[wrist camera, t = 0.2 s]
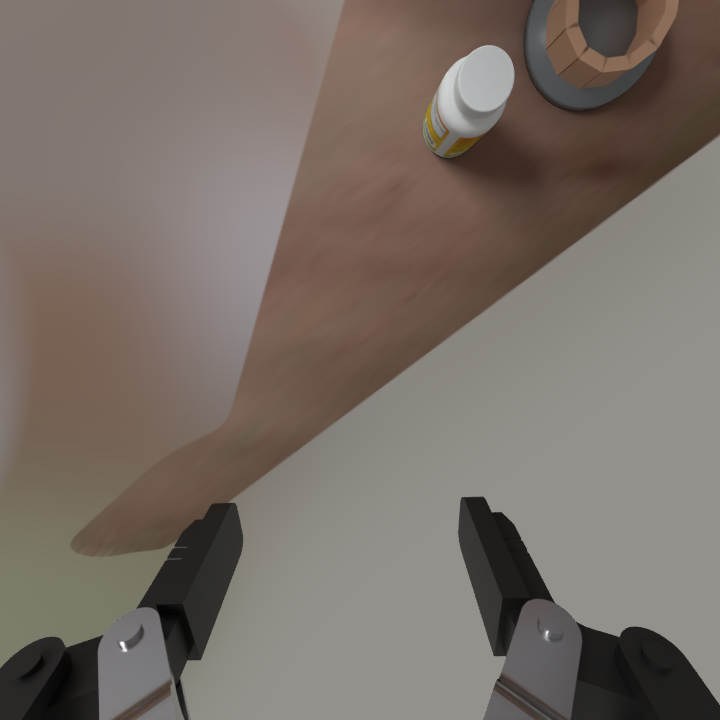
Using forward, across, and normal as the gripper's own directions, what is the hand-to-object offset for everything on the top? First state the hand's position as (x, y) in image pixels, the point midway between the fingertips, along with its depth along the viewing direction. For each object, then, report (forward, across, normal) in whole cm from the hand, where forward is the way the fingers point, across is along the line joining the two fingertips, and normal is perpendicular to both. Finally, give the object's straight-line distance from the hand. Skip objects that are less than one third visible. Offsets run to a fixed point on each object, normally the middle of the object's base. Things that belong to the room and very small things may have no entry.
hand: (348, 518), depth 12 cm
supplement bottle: (+30, -10, -19) cm, 36 cm away
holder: (+30, -22, -26) cm, 45 cm away
